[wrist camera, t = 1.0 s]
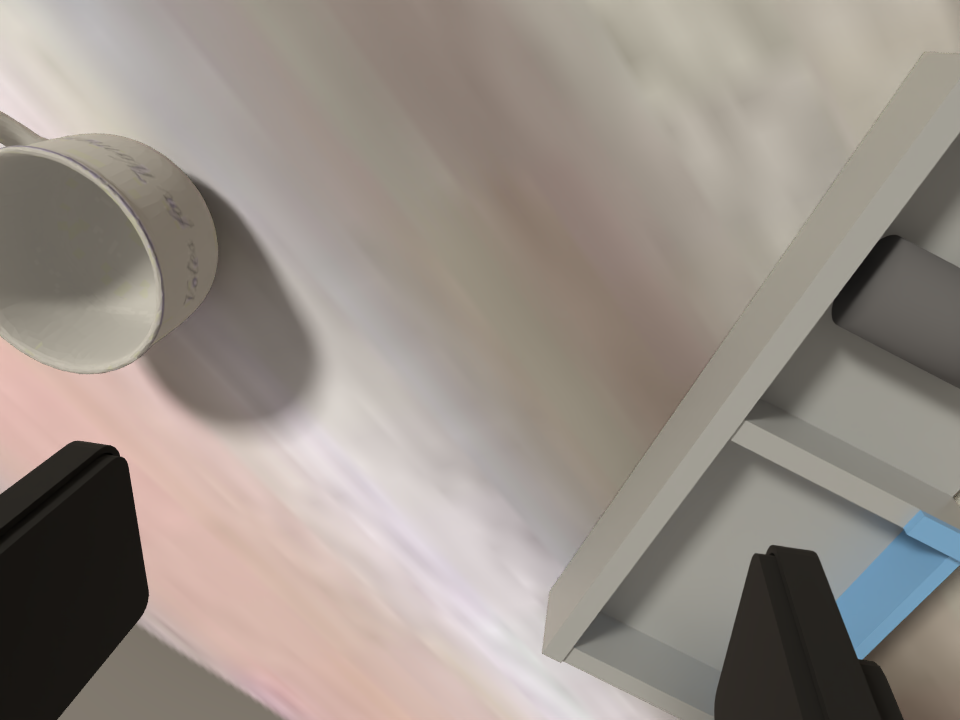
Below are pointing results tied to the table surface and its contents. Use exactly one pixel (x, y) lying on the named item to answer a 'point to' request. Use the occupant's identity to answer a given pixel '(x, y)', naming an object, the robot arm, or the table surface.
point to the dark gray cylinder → (906, 306)
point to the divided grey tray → (789, 443)
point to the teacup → (97, 248)
